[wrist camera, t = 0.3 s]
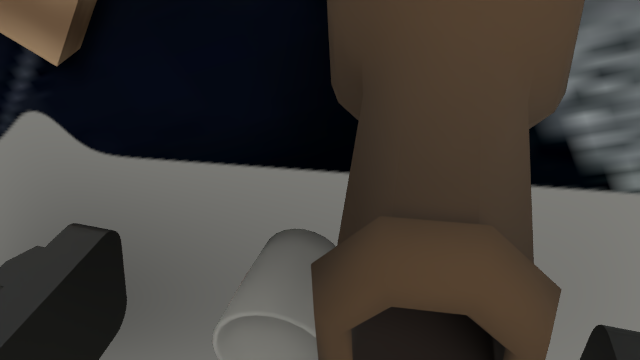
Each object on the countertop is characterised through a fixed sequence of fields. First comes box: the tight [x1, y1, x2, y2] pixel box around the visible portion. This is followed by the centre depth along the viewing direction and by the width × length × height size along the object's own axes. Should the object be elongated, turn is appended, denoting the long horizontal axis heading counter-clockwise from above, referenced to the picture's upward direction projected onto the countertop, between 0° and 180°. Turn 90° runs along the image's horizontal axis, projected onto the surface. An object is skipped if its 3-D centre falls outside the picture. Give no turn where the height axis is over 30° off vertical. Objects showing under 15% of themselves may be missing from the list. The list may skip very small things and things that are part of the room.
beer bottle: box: [311, 0, 585, 360], centre depth 17 cm, size 8×8×24 cm
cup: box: [212, 229, 335, 360], centre depth 39 cm, size 8×10×8 cm
